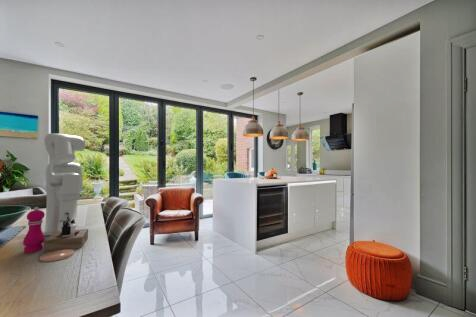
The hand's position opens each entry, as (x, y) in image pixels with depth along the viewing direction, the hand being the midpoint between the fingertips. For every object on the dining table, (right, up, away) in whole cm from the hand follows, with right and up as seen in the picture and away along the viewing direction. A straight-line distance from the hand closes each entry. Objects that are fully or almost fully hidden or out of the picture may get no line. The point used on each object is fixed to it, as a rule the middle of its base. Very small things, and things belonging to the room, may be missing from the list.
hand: (68, 232), depth 104 cm
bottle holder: (0, -6, 0) cm, 6 cm away
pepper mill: (-10, -6, -8) cm, 14 cm away
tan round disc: (+7, -5, -15) cm, 17 cm away
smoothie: (0, -6, 0) cm, 6 cm away
